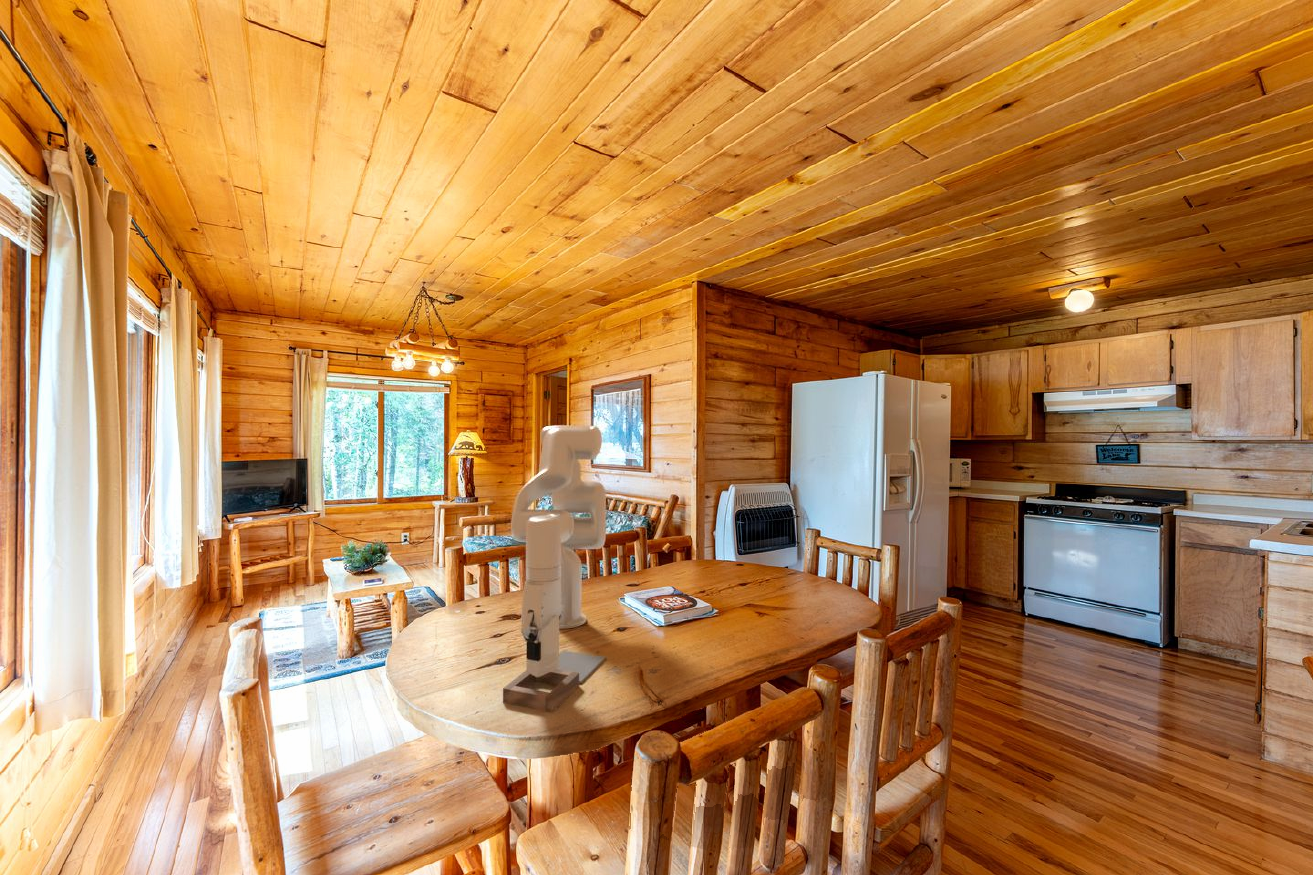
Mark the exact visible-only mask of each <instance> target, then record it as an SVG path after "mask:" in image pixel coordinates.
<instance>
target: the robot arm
mask: <svg viewBox="0 0 1313 875" xmlns="http://www.w3.org/2000/svg"><path fill="white" fill-rule="evenodd" d="M602 439H603V438H602V433H601V430H600V428H599V427H598V426H595V425H569V424H567V425H565V424H560V425H558V424H557V425H556V424H555V425H549V426H545V427H543V428H542V429H541V431H540V443H541V455H540V461H539V466H538V472H537V474H536V475H534V476H533V477H532V478H531V479H529V480H528V481H527V482H526V483H525V484H524V485H523V486H522V487H521V489H520V490H519V491H518V494H517V495H516V497H515V500H514V505H513V508H512V515H511V518H510V519H511V520H510V533H511V536H512V538H513V539H514V540H515V541H516V542H520V543H525V582H524V587H523V590H522V591H523V592H522V602H521V615H520V616H521V617H520V619H521V620H520V623H521V624H520V626H521V628H520V633H521V634H522V636H523V639H524V641H525V642H526V652H525V653H526V660H527V659H528V660H534V661H540V660H541V642H539V639H540V635H541V630H542V629H543V628H544V627H546V626H547V625H549V624H550V621H551V619H552V618H553V617H555V616H556V615H557V616H559V630H560V629H561V630H564V629H573V628H578V627H580V626H582V625H584V624H585V623H586V622H587V615H586V614H585V613H583V612H582V581H583V580H582V577H583V576H582V575H583V574H582V573H583V572H582V569H583V566H582V561H581V558H580V557H579V555H578V554H577V552H575V550H598V549H601V548H602V547H603V546H605V542H606V537H607V500H606V496H607V494H606V489H605V487H604V485H603V484H602V483H601V482H599V481H592V480H590V481H583V480H582V478H581V476H582V475H581V473H582V472H581V469H582V465H581V463H580V461H579V460H594V459H596V458H597V457H598V455H599V453H600V451H601V449H602V442H603V440H602ZM549 495H551V501H552V502H551V503H552V508H553V509H529V507H530V506H531V505H532V504H533V503H534V502H536V501H537V500H539V499H541V498H544V497H545V496H549ZM572 514H589V516H572ZM533 623H535V624H537V627H532V624H533ZM532 630H537V631H536V635H534V634H533V633H532Z"/></svg>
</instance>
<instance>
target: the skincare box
mask: <svg viewBox="0 0 1313 875" xmlns="http://www.w3.org/2000/svg"><path fill="white" fill-rule="evenodd" d="M532 627H537V624H535V623H533V624H532ZM536 631H537V630H532V633H533V634H534V635H536ZM539 642H541V660H540V661H534V660H528V659H527V658H526V670H527V672H528V673H530V674H532V675H533V676H536V677H540V676H542V675H544V674H546V673H549V672H551V671H553V670H555V669H558V668H559V653H560V629H559V616H557V615H556V616H555V617H553V618H552V619H551V621H550V624H549V625H547V626H546V627H544V628H543V629H542V630H541V635H540V639H539Z"/></svg>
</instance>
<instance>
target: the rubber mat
mask: <svg viewBox="0 0 1313 875" xmlns="http://www.w3.org/2000/svg"><path fill="white" fill-rule="evenodd" d="M606 659H607V658H606V656H603V655H595V654H588V653H582V652H576V651H571V650H563V649H562V651H561V652H559V668H558V669H559V670H565V671H570V672H576V673H579V685H582V684H583V683H584V682H585V681H586V680H587V679H588V678H589V677H590V676H591V674H593V672H595V670H596V669H598V668H599V666H601V665H602V664H603V663H604V662H605V660H606Z"/></svg>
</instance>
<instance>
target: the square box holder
mask: <svg viewBox="0 0 1313 875" xmlns="http://www.w3.org/2000/svg"><path fill="white" fill-rule="evenodd" d="M535 683H538V684H543V685H544V684H545V685H549V686H554V688H553V689H552V690H550V692H549V691H543V690H538V689H533V688H530V687H532V686H533V685H535ZM579 687H580V684H579V673H576V672H570V671H565V670H559V669H555V670H553V671H551V672H549V673H546V674H544V675H542V676H540V677H536V676H533V675H532V674H530V673H528V672H527V669H526V670H524V671H523V672H522V673H521V674H519V675H518V676H517V677H516V678H514V679H513V680H512V681H511V682H509V683H508V684H507V685H505V686H504V687H503V688H502V703H505V704H511V705H515V706H519V707H524V708H530V709H535V710H539V711H545V712H549V713H554V712H555V711H556V710H557V709H558V708H559V707H560V706H561V705H562V704H563V703H564V702H565V701H566V700H567V699H568V698H569V697H570V696H571V695H572V694H573V693H574V692H575V691H576V690H577V689H578V688H579ZM560 704H561V705H560ZM558 706H559V707H558Z"/></svg>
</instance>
